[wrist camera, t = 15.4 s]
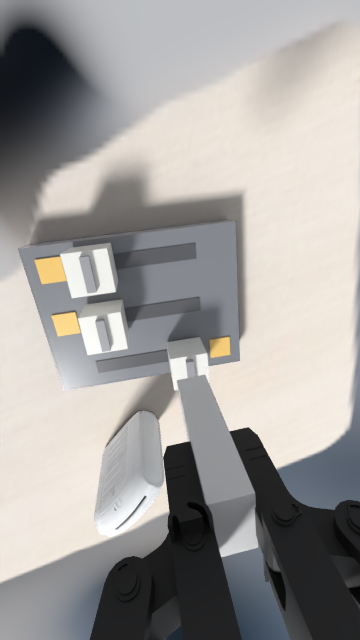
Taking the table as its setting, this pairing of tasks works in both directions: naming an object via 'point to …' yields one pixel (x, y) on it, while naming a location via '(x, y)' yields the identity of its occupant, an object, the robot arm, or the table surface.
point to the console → (143, 300)
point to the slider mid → (104, 327)
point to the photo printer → (129, 474)
